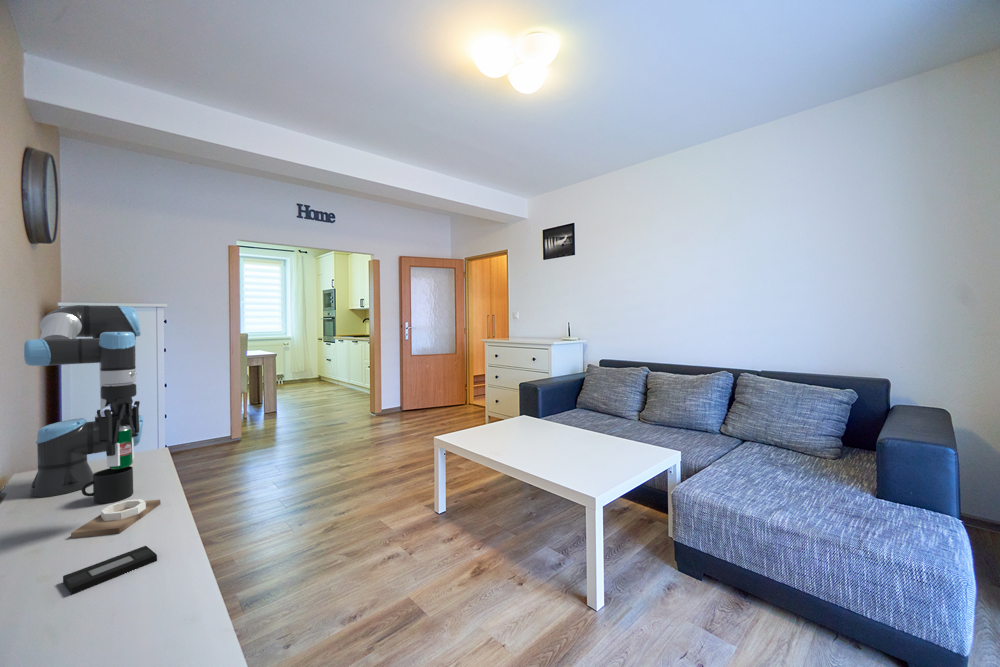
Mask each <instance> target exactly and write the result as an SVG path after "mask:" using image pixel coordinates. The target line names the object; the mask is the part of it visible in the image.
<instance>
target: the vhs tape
mask: <svg viewBox="0 0 1000 667" xmlns="http://www.w3.org/2000/svg"><path fill="white" fill-rule="evenodd" d="M155 562H158V554H157V553H155V551H153V550H152V549H151V548H150V547H149V546H147V545H143V546H141V547H138V548H135V549H133V550H130V551H126V552H124V553H122V554H118V555H116V556H114V557H110V558H108V559H106V560H103V561H99V562H96V563H94V564H92V565H89V566H86V567H84V568H81V569H78V570H76V571H73V572H70V573H67V574H65V575H63V576H62V583H63V585H64V586H65V588H66V589H67V590H68V592H69V594H70V595H71V596H72V595H76V594H78V593H81V592H83V591H85V590H88V589H91V588H93V587H95V586H98V585H101V584H103V583H106V582H108V581H112V580H113V579H115V578H118V577H121V576H123V575H125V573H126V574H128V573H131V572H133V571H135V569H136V570H137V569H140V568H143V567H145V566H149V565H151V564H154V563H155ZM132 570H133V571H132ZM130 571H131V572H130ZM127 572H128V573H127Z"/></svg>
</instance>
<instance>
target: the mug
mask: <svg viewBox="0 0 1000 667" xmlns="http://www.w3.org/2000/svg"><path fill="white" fill-rule="evenodd" d="M89 485H90V486H92V490H93V492H86V488H88V487H90V486H89ZM87 486H88V487H87ZM81 493H82V495H83V496H84V497H93V503H94V504H96V505H101V504H102V505H104V504H105V505H106V504H111V503H115V502H117V503H118V502H121V501H124V500H127V499H128V498H130V497H131V496H132V495H133V494H134V467H133V466H131V465H130V466H128V467H125V468H121V469H111V468H109V467H107V468H105V469H102V470H99V471H96V472H95V473H94V472H93V481H91V482H89V483H87V484H85V485H84V486H83V488H82V489H81Z"/></svg>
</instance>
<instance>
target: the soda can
mask: <svg viewBox="0 0 1000 667" xmlns="http://www.w3.org/2000/svg"><path fill="white" fill-rule="evenodd" d="M117 443H119V444H120V465H119V466H112V467H108V468H111V469H121V468H125V467H128V466H131V465H132V464H133V463H134V462H133V460H134V459H133V458H132V428H131V427H130V425H120V426H119V432H118V439H117Z"/></svg>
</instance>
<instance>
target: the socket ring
mask: <svg viewBox="0 0 1000 667" xmlns="http://www.w3.org/2000/svg"><path fill="white" fill-rule="evenodd" d="M145 501H146V500H143V499H142V498H138V499H128V500H127V499H125V500H122V501H118V502H117V503H113V504H110V505H108V506H106V507H104V508H103V509H102V510H101V511H100V515H101V518H102V519H103V520H104V521H111V520H120V519H124V518H127V517H130V516H134V515H137V514H139V513H140V512H142V511H143V510H144V509H146V502H145ZM133 507H134V508H133ZM125 508H130V509H127V510H124V511H118V510H122V509H125ZM115 511H118V512H115Z"/></svg>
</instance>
